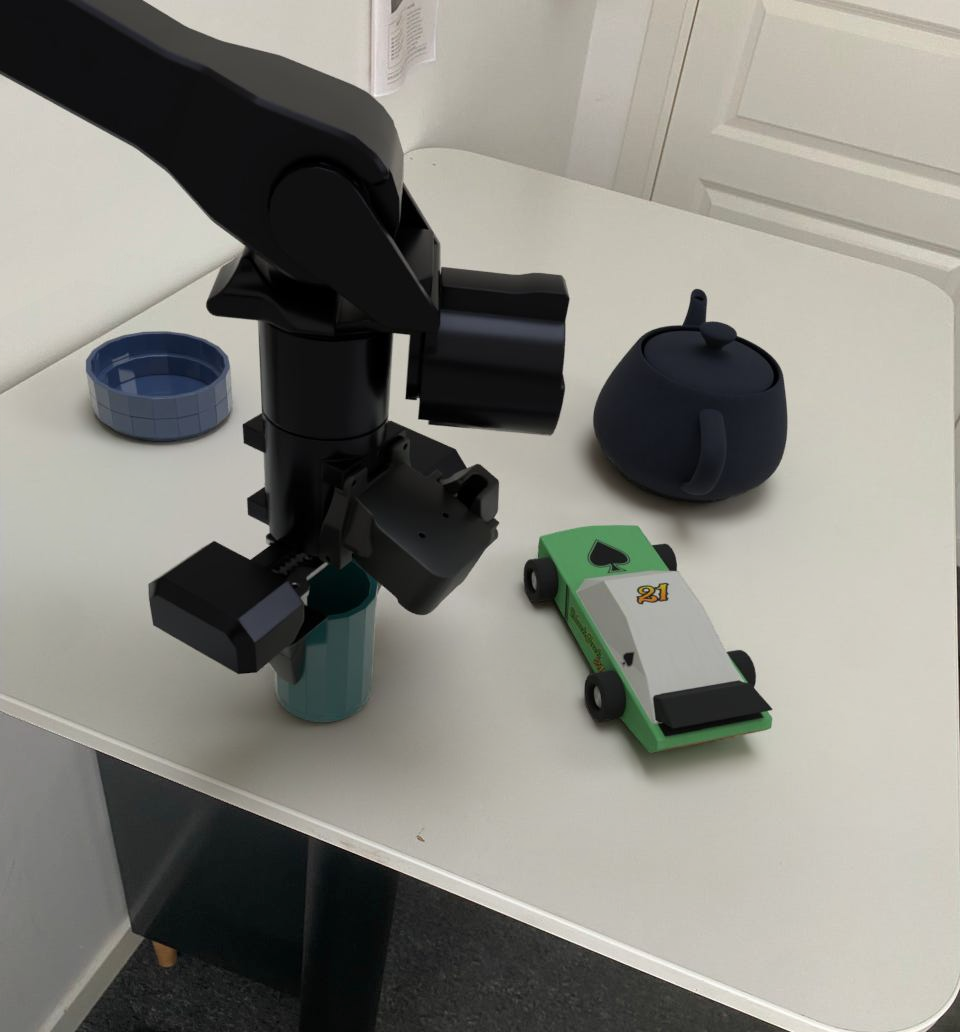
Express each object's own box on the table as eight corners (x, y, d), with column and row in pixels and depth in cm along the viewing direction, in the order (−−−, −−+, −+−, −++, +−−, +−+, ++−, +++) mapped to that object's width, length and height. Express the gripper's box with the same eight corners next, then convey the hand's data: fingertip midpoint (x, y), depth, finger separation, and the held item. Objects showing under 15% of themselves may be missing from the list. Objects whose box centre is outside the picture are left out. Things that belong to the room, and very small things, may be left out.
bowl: (75, 436, 71) (65, 388, 69) (117, 369, 79) (110, 324, 76) (216, 452, 72) (212, 406, 69) (244, 384, 80) (241, 340, 77)
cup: (266, 717, 53) (261, 613, 48) (283, 648, 57) (280, 546, 52) (365, 726, 54) (371, 625, 48) (375, 658, 58) (382, 556, 52)
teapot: (786, 566, 70) (850, 423, 62) (581, 533, 70) (617, 385, 62) (751, 401, 88) (796, 273, 80) (588, 375, 88) (617, 244, 80)
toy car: (642, 551, 70) (659, 495, 66) (777, 749, 57) (807, 693, 53) (511, 566, 66) (522, 509, 63) (624, 780, 54) (646, 723, 50)
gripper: (343, 584, 34) (336, 832, 45) (573, 393, 46) (524, 623, 57) (118, 468, 37) (161, 725, 48) (388, 318, 50) (375, 549, 60)
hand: (323, 650), depth 53 cm, fingers closed on cup, 6 cm apart
